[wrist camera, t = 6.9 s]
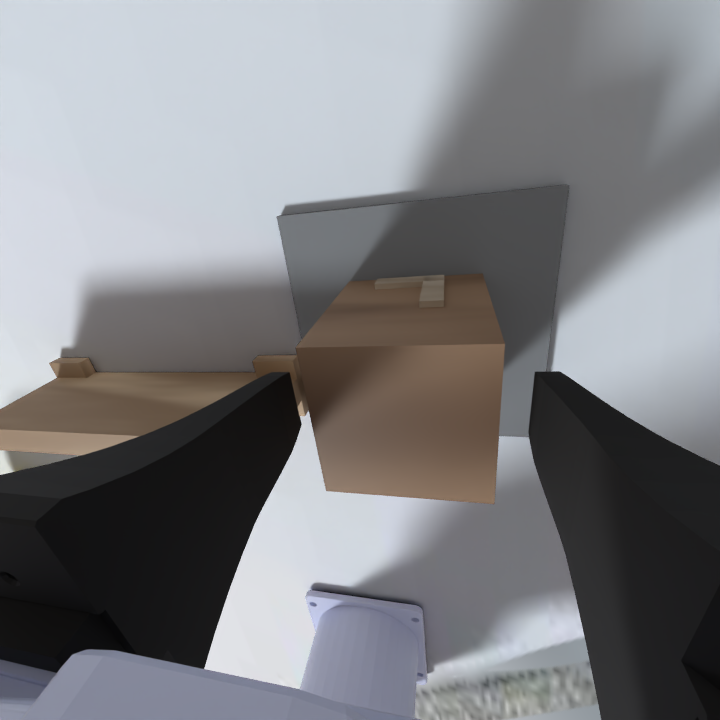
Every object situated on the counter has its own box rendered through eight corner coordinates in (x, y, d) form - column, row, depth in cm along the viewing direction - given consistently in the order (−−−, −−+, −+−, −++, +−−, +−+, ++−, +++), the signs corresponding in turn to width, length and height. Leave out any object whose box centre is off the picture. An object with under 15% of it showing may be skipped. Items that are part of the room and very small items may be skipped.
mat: (536, 432, 16) (537, 437, 16) (321, 425, 19) (320, 429, 18) (566, 184, 12) (569, 185, 12) (279, 215, 14) (276, 216, 14)
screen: (309, 408, 18) (266, 485, 14) (83, 403, 22) (-7, 464, 17) (297, 355, 17) (247, 420, 13) (59, 357, 20) (-46, 411, 16)
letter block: (478, 390, 16) (494, 503, 10) (363, 389, 17) (326, 491, 12) (482, 268, 13) (505, 335, 8) (348, 276, 14) (293, 340, 9)
